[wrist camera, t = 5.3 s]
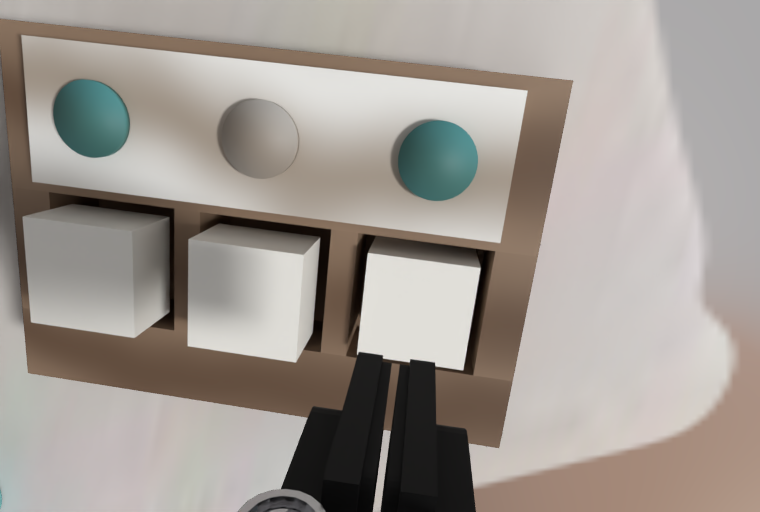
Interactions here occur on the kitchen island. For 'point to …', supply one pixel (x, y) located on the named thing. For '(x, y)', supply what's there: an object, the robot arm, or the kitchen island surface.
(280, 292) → the button mid
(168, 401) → the kitchen island surface
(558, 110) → the board
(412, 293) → the white square block
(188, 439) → the kitchen island surface
